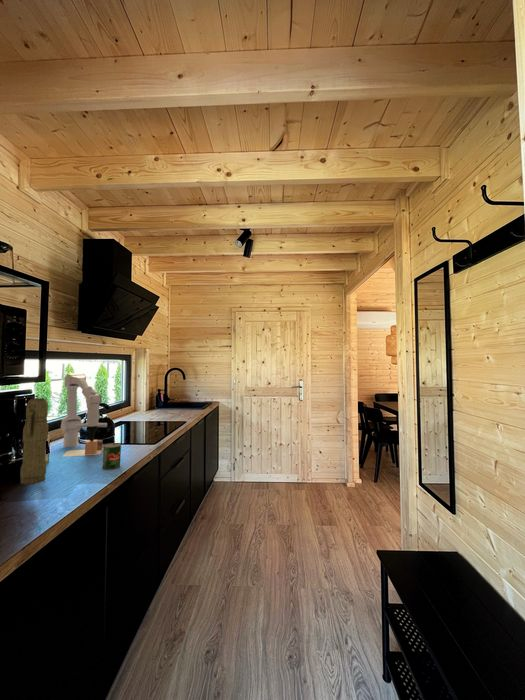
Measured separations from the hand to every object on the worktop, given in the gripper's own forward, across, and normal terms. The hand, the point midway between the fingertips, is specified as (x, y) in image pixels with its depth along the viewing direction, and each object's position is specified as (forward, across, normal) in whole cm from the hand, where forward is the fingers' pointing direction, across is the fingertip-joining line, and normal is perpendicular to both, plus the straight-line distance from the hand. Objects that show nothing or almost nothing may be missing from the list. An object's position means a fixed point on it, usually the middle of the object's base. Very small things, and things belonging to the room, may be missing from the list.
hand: (91, 440), depth 174 cm
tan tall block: (+8, -15, -38) cm, 42 cm away
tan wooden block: (+7, 0, 0) cm, 7 cm away
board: (+8, -4, +2) cm, 9 cm away
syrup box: (+8, -20, -15) cm, 26 cm away
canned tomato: (+8, +14, -27) cm, 31 cm away
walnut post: (+7, +3, +6) cm, 10 cm away
